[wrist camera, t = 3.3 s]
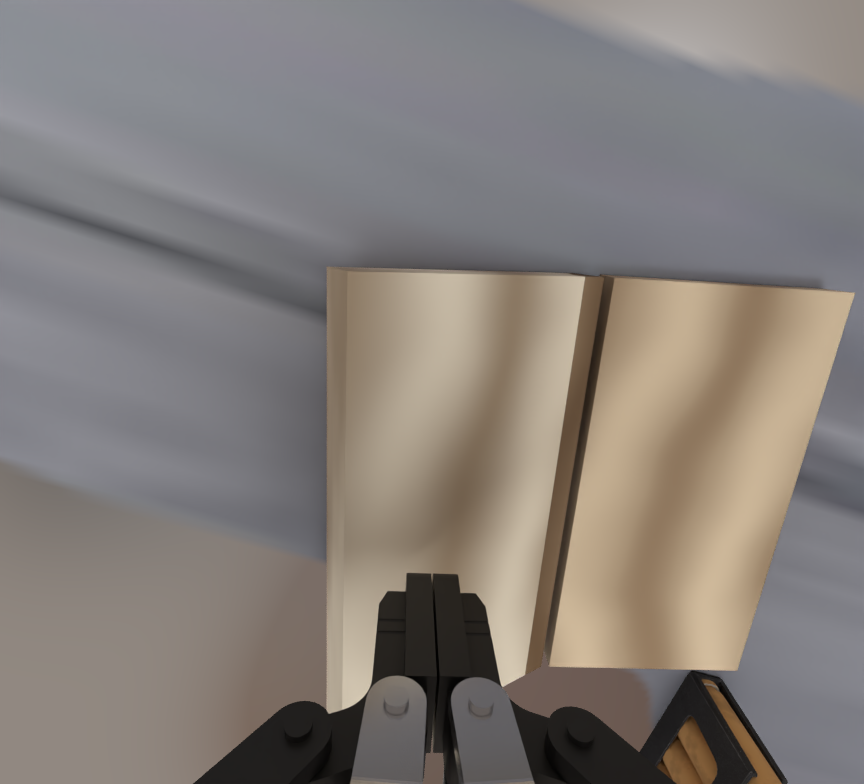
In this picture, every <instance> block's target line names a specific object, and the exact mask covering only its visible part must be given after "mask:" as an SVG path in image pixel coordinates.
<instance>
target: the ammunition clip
mask: <svg viewBox="0 0 864 784" xmlns="http://www.w3.org/2000/svg"><path fill="white" fill-rule="evenodd" d="M639 753H640V754H642V755H643V756H644V757H645V758H646V759H648V760H649V761H650V762H651V763H652V764H654V765H655V766H656V767H657V768H658V769H660V770H661V771H662V772H663V773H664V774H666V775H667V776H668V777H669V778H670V779H672V780H673V781H674V782H675V783H676V784H787V783H788V782H787V779H786V778H785V776H784V775H783V773H782V772H781V770H780V769H779V767H778V766H777V764H776V762H775V761H774V759H773V758H772V756H771V755H770V753H769V752H768V750H767V748H766V747H765V745H764V744H763V742H762V741H761V739H760V738H759V736H758V734H757V733H756V731H755V730H754V728H753V727H752V725H751V724H750V722H749V720H748V719H747V717H746V716H745V714H744V713H743V711H742V710H741V708H740V707H739V705H738V703H737V702H736V700H735V699H734V697H733V696H732V694H731V693H730V691H729V689H728V688H727V686H726V685H725V683H724V682H723V680H722V679H719V678H715V677H711V676H707V675H703V674H700V673H696V672H692V673H689V674H688V675H687V677H686V678H685V680H684V682H683V683H682V685H681V686H680V688H679V690H678V691H677V693H676V695H675V696H674V698H673V699H672V701H671V703H670V704H669V706H668V707H667V709H666V711H665V712H664V714H663V715H662V717H661V719H660V720H659V722H658V724H657V725H656V727H655V728H654V730H653V731H652V733H651V734H650V736H649V738H648V739H647V741H646V743H645V744H644V746H643V748H642V749H641V751H640V752H639Z"/></svg>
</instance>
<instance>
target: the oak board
mask: <svg viewBox="0 0 864 784" xmlns="http://www.w3.org/2000/svg"><path fill="white" fill-rule="evenodd" d="M600 277H604V282H603V288H602V294H601V300H600V306H599V313H598V319H597V325H596V331H595V337H594V343H593V349H592V356H591V362H590V368H589V374H588V380H587V386H586V392H585V399H584V405H583V411H582V417H581V423H580V429H579V436H578V442H577V448H576V454H575V460H574V466H573V472H572V479H571V485H570V491H569V497H568V503H567V509H566V515H565V522H564V528H563V534H562V540H561V546H560V552H559V558H558V565H557V571H556V577H555V583H554V589H553V595H552V601H551V608H550V614H549V620H548V626H547V632H546V638H545V644H544V652H545V655H546V658H547V661H548V665H549V667H593V668H594V667H595V668H596V667H597V668H639V669H684V670H730V671H737V669H738V666H739V663H740V660H741V656H742V653H743V650H744V647H745V644H746V640H747V637H748V634H749V631H750V628H751V624H752V621H753V618H754V615H755V612H756V608H757V605H758V602H759V599H760V596H761V592H762V589H763V586H764V583H765V580H766V576H767V573H768V570H769V567H770V563H771V560H772V557H773V554H774V551H775V547H776V544H777V541H778V538H779V535H780V531H781V528H782V525H783V522H784V519H785V515H786V512H787V509H788V506H789V503H790V499H791V496H792V493H793V490H794V487H795V483H796V480H797V477H798V474H799V471H800V467H801V464H802V461H803V458H804V455H805V451H806V448H807V445H808V442H809V439H810V435H811V432H812V429H813V426H814V423H815V419H816V416H817V413H818V410H819V407H820V403H821V400H822V397H823V394H824V391H825V387H826V384H827V381H828V378H829V375H830V371H831V368H832V365H833V362H834V359H835V355H836V352H837V349H838V346H839V343H840V339H841V336H842V333H843V330H844V327H845V323H846V320H847V317H848V314H849V311H850V307H851V304H852V301H853V298H854V295H855V293H851V292H844V291H836V290H828V289H817V288H801V287H785V286H770V285H754V284H738V283H722V282H707V281H691V280H675V279H660V278H644V277H628V276H612V275H600Z"/></svg>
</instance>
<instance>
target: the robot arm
mask: <svg viewBox="0 0 864 784" xmlns="http://www.w3.org/2000/svg"><path fill="white" fill-rule="evenodd" d="M432 735H433V752H434V753H443V759H444V776H443V784H676V783H675V782H674V781H673V780H672V779H670V778H669V777H668V776H667V775H666V774H664V773H663V772H662V771H661V770H660V769H658V768H657V767H656V766H655V765H654V764H652V763H651V762H650V761H649V760H648V759H646V758H645V757H644V756H643V755H642V754H640V753H639V752H638V751H637V750H636V749H634V748H633V747H632V746H631V745H630V744H628V743H627V742H626V741H625V740H624V739H622V738H621V737H620V736H619V735H618V734H617V733H615V732H614V731H613V730H612V729H610V728H609V727H608V726H607V725H606V724H604V723H603V722H602V721H601V720H600V719H599V718H597V717H596V716H595V715H593V714H592V713H590V712H588V711H586V710H584V709H581V708H577V707H563V708H560V709H558V710H556V711H555V712H553V713H552V715H551V716H550V718H547V717H544V716H541V715H538V714H535V713H532V712H529V711H527V710H525V709H522V708H521V707H519V706H518V705H516V704H515V703H514V702H513V701H511V700H510V698H509V697H508V695H507V693H506V692H505V691H504V689H502V686H501V682H500V678H499V673H498V668H497V663H496V658H495V653H494V647H493V642H492V637H491V632H490V627H489V624H488V617H487V612H486V606H485V605H484V604H483V602H482V601H481V600H480V598H479V597H478V596H477V594H476V593H460V585H459V578H458V574H436V573H433V576H432V577H431V573H407V574H406V590H405V591H387V593H386V594H385V596H384V597H383V599H382V600H381V601H380V603H379V610H378V621H377V632H376V642H375V653H374V663H373V674H372V682H371V685H370V688H369V690H368V692H367V693H366V694H365V696H364V697H363V698H362V699H361V700H360V701H359V702H357V703H356V704H354V705H353V706H351V707H349V708H346V709H343V710H340V711H337V712H333V713H330V714H329V713H328V712H327V710H326V709H325V708H324V707H322V706H321V705H319V704H317V703H315V702H310V701H300V702H295V703H292V704H289V705H287V706H285V707H283V708H282V709H281V710H279V711H278V712H277V713H275V714H274V715H273V716H272V717H271V718H270V719H268V720H267V721H266V722H265V723H264V724H263V725H261V726H260V727H259V728H258V729H257V730H255V731H254V732H253V733H252V734H251V735H250V736H249V737H247V738H246V739H245V740H244V741H243V742H241V744H239V745H238V746H237V747H236V748H234V749H233V750H232V751H231V752H230V753H229V754H227V755H226V756H225V757H224V758H223V759H222V760H220V761H219V762H218V763H217V764H216V765H215V766H214V767H212V768H211V769H210V770H209V771H208V772H206V773H205V774H204V775H203V776H202V777H201V778H199V779H198V780H197V781H196V782H195V783H193V784H422V782H423V778H424V768H425V756H426V753H430V751H431V740H432V739H431V738H432Z"/></svg>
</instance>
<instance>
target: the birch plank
mask: <svg viewBox="0 0 864 784" xmlns="http://www.w3.org/2000/svg"><path fill="white" fill-rule="evenodd" d="M603 282H604V277H599V276H591V275H583V274H575V273H545V272H507V271H470V270H433V269H395V268H358V267H327V712H328V713H329V714H330V713H333V712H337V711H340V710H343V709H346V708H349V707H351V706H353V705H354V704H356V703H357V702H359V701H360V700H361V699H362V698H363V697H364V696H365V694H366V693H367V692H368V690H369V688H370V685H371V682H372V674H373V663H374V653H375V642H376V632H377V621H378V610H379V603H380V601H381V600H382V599H383V597H384V596H385V594H386V593H387V591H405V590H406V574H407V573H431V577H432V576H433V573H436V574H458V578H459V585H460V593H476V594H477V596H478V597H479V598H480V600H481V601H482V602H483V604H484V605H485V606H486V612H487V617H488V624H489V627H490V632H491V637H492V642H493V647H494V653H495V658H496V663H497V668H498V673H499V678H500V682H501V686H502V687H503V686H505V685H507V684H509V683H511V682H512V681H514V680H516V679H518V678H520V677H522V676H524V675H526V674H528V673H530V672H532V671H534V670H535V669H537V668H539V667H541V663H542V657H543V651H544V644H545V638H546V632H547V626H548V620H549V614H550V608H551V601H552V595H553V589H554V583H555V577H556V571H557V565H558V558H559V552H560V546H561V540H562V534H563V528H564V522H565V515H566V509H567V503H568V497H569V491H570V485H571V479H572V472H573V466H574V460H575V454H576V448H577V442H578V436H579V429H580V423H581V417H582V411H583V405H584V399H585V392H586V386H587V380H588V374H589V368H590V362H591V356H592V349H593V343H594V337H595V331H596V325H597V319H598V313H599V306H600V300H601V294H602V288H603Z"/></svg>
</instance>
